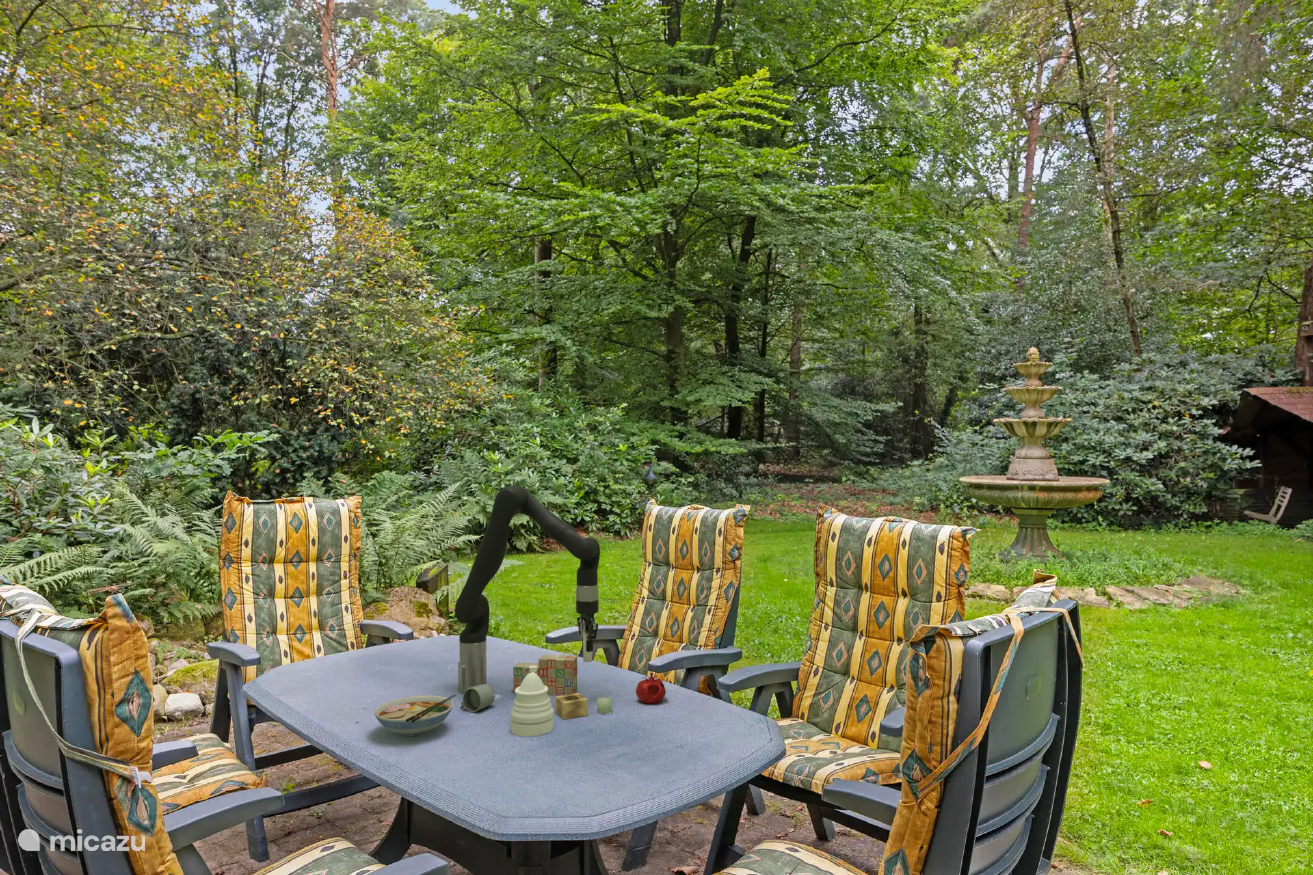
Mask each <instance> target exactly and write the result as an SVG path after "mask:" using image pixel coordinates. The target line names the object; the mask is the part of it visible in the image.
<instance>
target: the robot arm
mask: <svg viewBox="0 0 1313 875" xmlns="http://www.w3.org/2000/svg"><path fill="white" fill-rule="evenodd" d="M515 513H521V514H523V515H525V516H526V517H529V518H530V519H532V520H533V521H534V522H535V523H536V524H537V525H538V526H539V528H540V529H541V531H542V532H544V534H546V535H547V536H548V537H550V538H551V539H552V540H554V541H556V542H557V543H559V544H560V545H562V546H563V547H564V548H565V550H567V552H569V553H570V554H571V555H572V556H573V557H575V558H576V559H578V560H579V561H580V562H579V567H578V568H577V570H576V588H575V611H576V614H579V615H580V616H578V617H577V618H576V622H577V629H578V634H579V636H580V638H581V647H582V648H581V649H582V650H583V625H584V633H585V634H586V651H587V652H592V653H593V651H594V640H596V639H597V636H598V630H599V623H598V622H597V623H596V618H595V614H597V613H598V612H599V609H600V608H599V607H600V606H599V605H600V604H599V603H600V602H599V594H600V593H599V585H598V583H599V582H598V581H599V580H598V574H599V573H598V570H599V569H598V568H599V563H600V558H601V547H600V543H599V541H598V540H597V539H596V538H594V537H585V538H584V537H583V536H581V535H580V534H578V532H577V529H576V528H575V527H574V526H572V525H571V524H569V523H568V522H566V521H565V520H564V519H562V518H561V517H559V516H557V515H556V514H554V513H553V512H551V511H550V510H549V509H548V508H547V507H545V506H544V505H543V504H542V503H541V502H539V500H537V499H536V498H535V497H534V495H532V494H531V493H530V492H529V491H528V490H527V489H525V487H523V486H520V485H517V484H516V485H510V486H506V487H503V488H501V489H499V491H498V492H497V493H496V496H495V499H494V501H493V505H492V510H491V514H490V517H489V521H488V523H487V526H486V529H485V532H484V535H483V537H482V539H481V542H480V544H479V547H478V549H477V552H476V555H475V558H474V561H473V564H472V567H471V568H470V572H469V574H468V577H467V579H466V581H465V584H464V586H463V588H462V590H461V591H460V594H459V596H458V598H457V600H456V603H455V605H454V615H455V619H457V621H458V622H459V623H461V624H466V625H465V626H464V628H463V630H462V631H461V632H460V633H459V635H458V636H459V641H458V642H459V661H458V662H457V678H458V679H457V682H458V683H457V690H458V691H459V692H460V694H462V695H463V694H464V692H465V691H466V690H467V689H468V688H471V687H475V686H479V685H482V684H487V683H488V682H487V675H488V674H487V635H488V632H489V628H490V604H489V600H488V598H487V597H486V596H485V594H483V592H484V590H485V589H486V587H487V585H488V584H490V582H491V581H492V579H494V577H495V575H496V574H497V573H498V572H499V570H500V568H501V566H502V564H503V561H504V558H505V556H506V553H507V549H508V531H509V527H510V524H511V522H512V519H513V518H514V515H515ZM587 630H589V631H587ZM588 633H589V634H588ZM487 685H488V684H487Z"/></svg>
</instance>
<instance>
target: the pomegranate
mask: <svg viewBox="0 0 1313 875" xmlns="http://www.w3.org/2000/svg"><path fill="white" fill-rule="evenodd" d="M649 675H650V676H649ZM649 675H645V676H643V677H641V678H640V681H639V682H637V685H636V689H635V694H636V697H637V698H638V700H639V701H640V702H643V703H644V704H649V705H653V704H658V703H660V702H662V701H663V700H664V699H665V697H666V693H667V691H666V688H665V684H664V683H663V679H662V680H661V678H658V677H659V676H658V675H654V672H649ZM655 678H656V679H655ZM642 679H643V680H642Z"/></svg>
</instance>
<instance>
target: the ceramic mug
mask: <svg viewBox="0 0 1313 875" xmlns="http://www.w3.org/2000/svg"><path fill="white" fill-rule="evenodd" d="M495 697H496V694H495V690H494V688H493V687H492V686H491V685H490V684H482V685H479V686H475V687H471V688H468V689H467V690H466V691H465V692H464V694H462V701H461V702H460V705H461V707H463V708H465V709H466V710H467V711H468V712H470V713H476V712H479V711H482V710H483V709H485V708H488V707H490V706H491V705H492V704H493V703H494V702H495Z"/></svg>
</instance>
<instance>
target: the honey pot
mask: <svg viewBox="0 0 1313 875" xmlns="http://www.w3.org/2000/svg"><path fill="white" fill-rule="evenodd" d="M529 670H530V672H531V673H529V674H528V675H527V676H526V677H525V678H524V680H523V681H522V683H521V685H520V686H519V687H517V688H516V689H515V693H514V694H515V695H516V696H515V699H514V701H513V705H512V708H511V711H510V727H509V728H510V729H509V730H510V732H511V733H512V734H513V735H516V736H519V737H538V735H539V736H542V735H541V734H543V735H546V734H545V733H547V732H549V733H551V732H552V731H553V730H554V729H553V728H555V727H554V726H555V723H554V722H555V721H554V719H555V715H554V711H555V710H554V707H552V702H551V697H549V696H550V695H548V694H547V692H548V687H547V686H545V685H544V684H543V682H542V680H541V679H540V677H539V676H538V675H537V674H535V672H536V671H537V666H529ZM552 729H553V730H552ZM551 730H552V731H551ZM550 731H551V732H550ZM547 734H548V733H547Z"/></svg>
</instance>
